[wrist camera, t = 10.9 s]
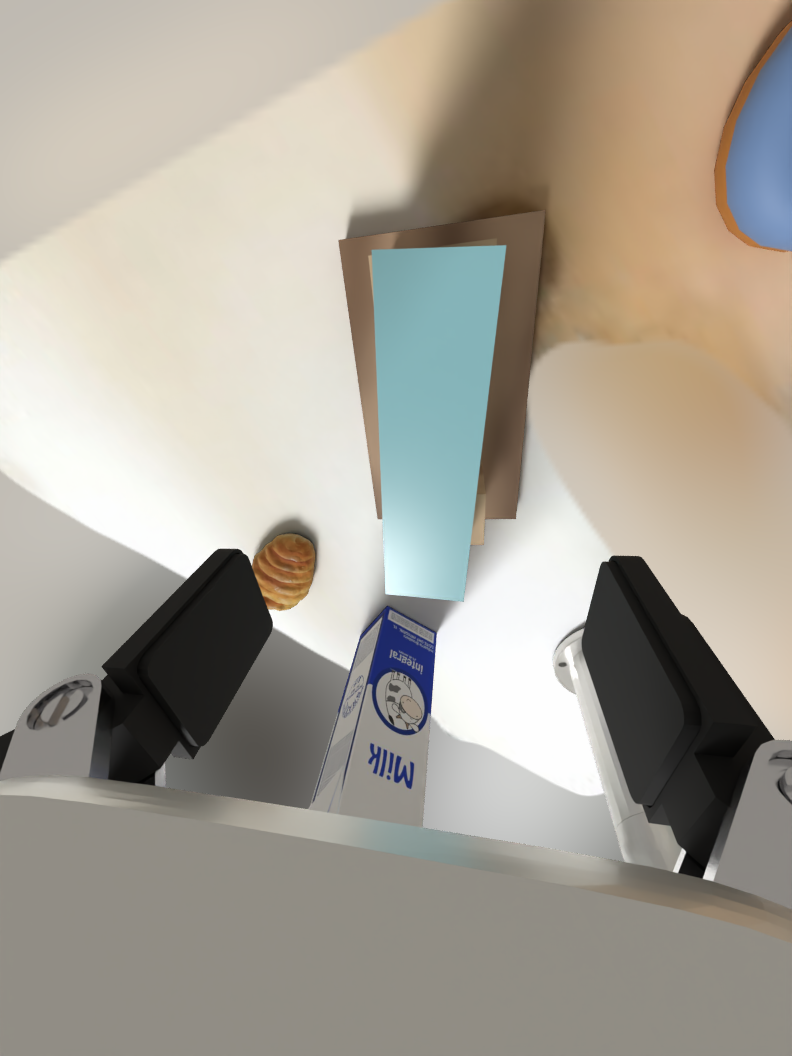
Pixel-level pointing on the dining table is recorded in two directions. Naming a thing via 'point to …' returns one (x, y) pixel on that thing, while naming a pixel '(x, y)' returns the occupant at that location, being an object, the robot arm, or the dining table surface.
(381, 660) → the milk carton
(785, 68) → the doughnut
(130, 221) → the dining table surface
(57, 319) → the dining table surface
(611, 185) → the dining table surface
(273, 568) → the pastry
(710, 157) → the dining table surface
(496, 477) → the display stand
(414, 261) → the pale blue rectangular prism
